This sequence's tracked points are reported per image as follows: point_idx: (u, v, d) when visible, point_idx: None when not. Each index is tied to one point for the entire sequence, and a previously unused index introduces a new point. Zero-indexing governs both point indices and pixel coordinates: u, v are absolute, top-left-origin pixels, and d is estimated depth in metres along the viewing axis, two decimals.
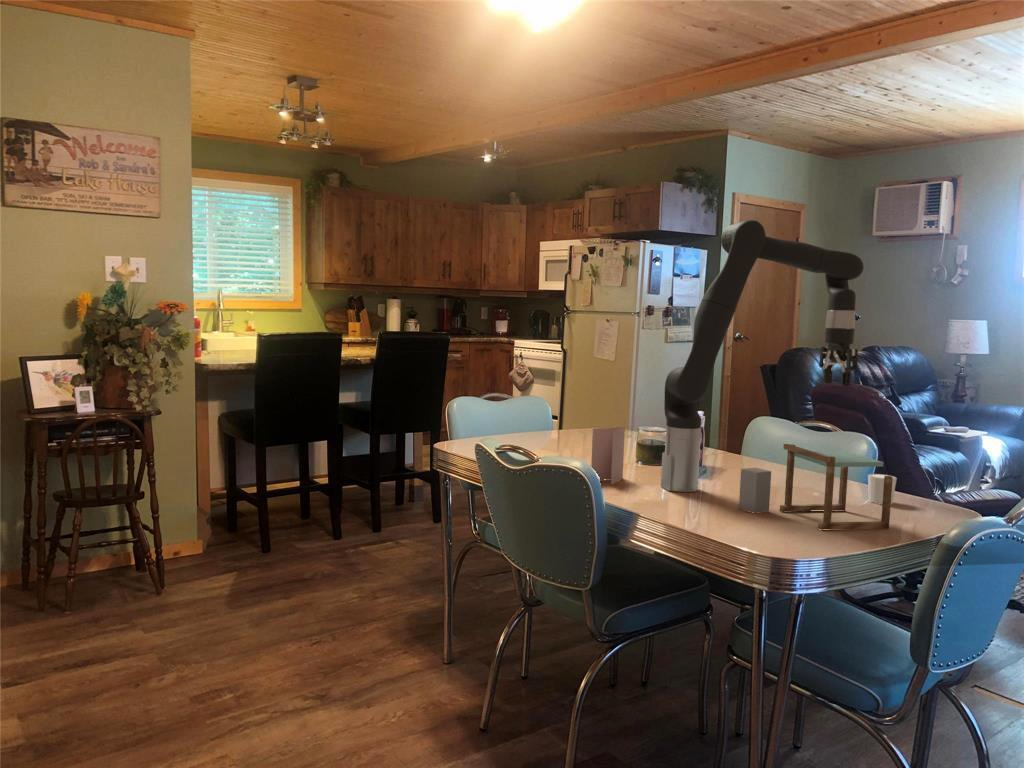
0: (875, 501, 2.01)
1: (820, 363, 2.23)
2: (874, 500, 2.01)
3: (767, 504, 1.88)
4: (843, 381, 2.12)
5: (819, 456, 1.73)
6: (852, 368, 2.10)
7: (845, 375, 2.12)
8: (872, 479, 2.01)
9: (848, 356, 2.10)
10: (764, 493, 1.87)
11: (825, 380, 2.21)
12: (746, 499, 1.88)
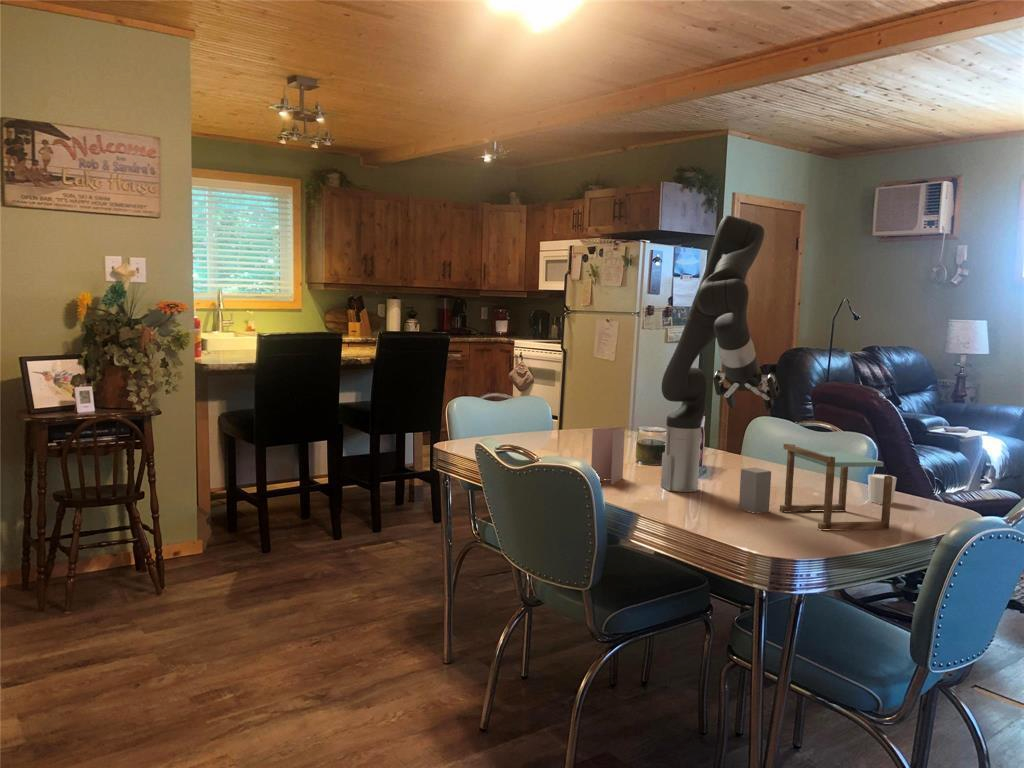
0: (875, 501, 2.01)
1: None
2: (874, 500, 2.01)
3: (767, 504, 1.88)
4: None
5: (819, 456, 1.73)
6: None
7: None
8: (872, 479, 2.01)
9: None
10: (764, 493, 1.87)
11: None
12: (746, 499, 1.88)
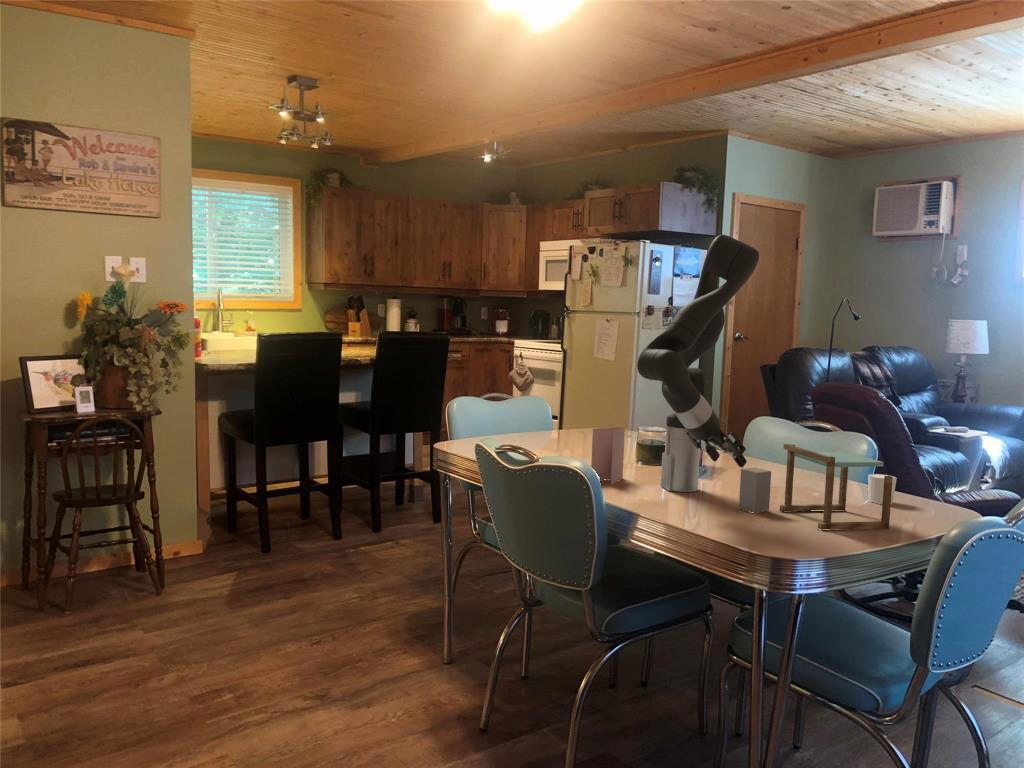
0: (875, 501, 2.01)
1: None
2: (874, 500, 2.01)
3: (767, 504, 1.88)
4: None
5: (819, 456, 1.73)
6: None
7: None
8: (872, 479, 2.01)
9: None
10: (764, 493, 1.87)
11: None
12: (746, 499, 1.88)
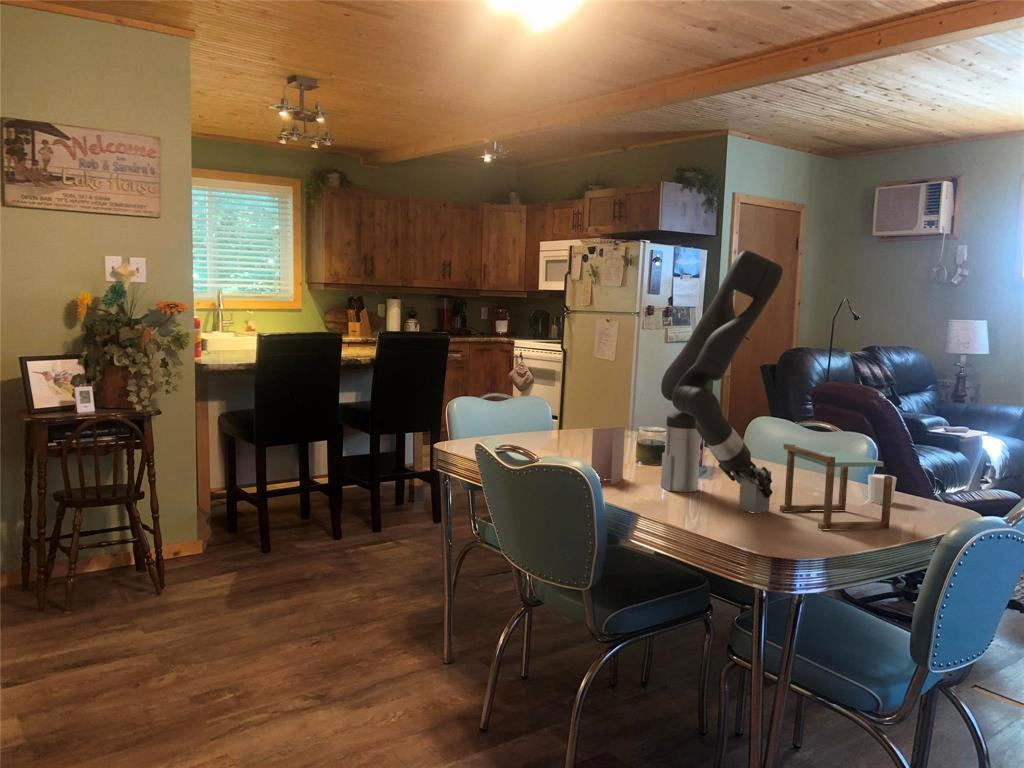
0: (875, 501, 2.01)
1: None
2: (874, 500, 2.01)
3: (767, 504, 1.88)
4: None
5: (819, 456, 1.73)
6: None
7: None
8: (872, 479, 2.01)
9: None
10: None
11: None
12: (746, 499, 1.88)
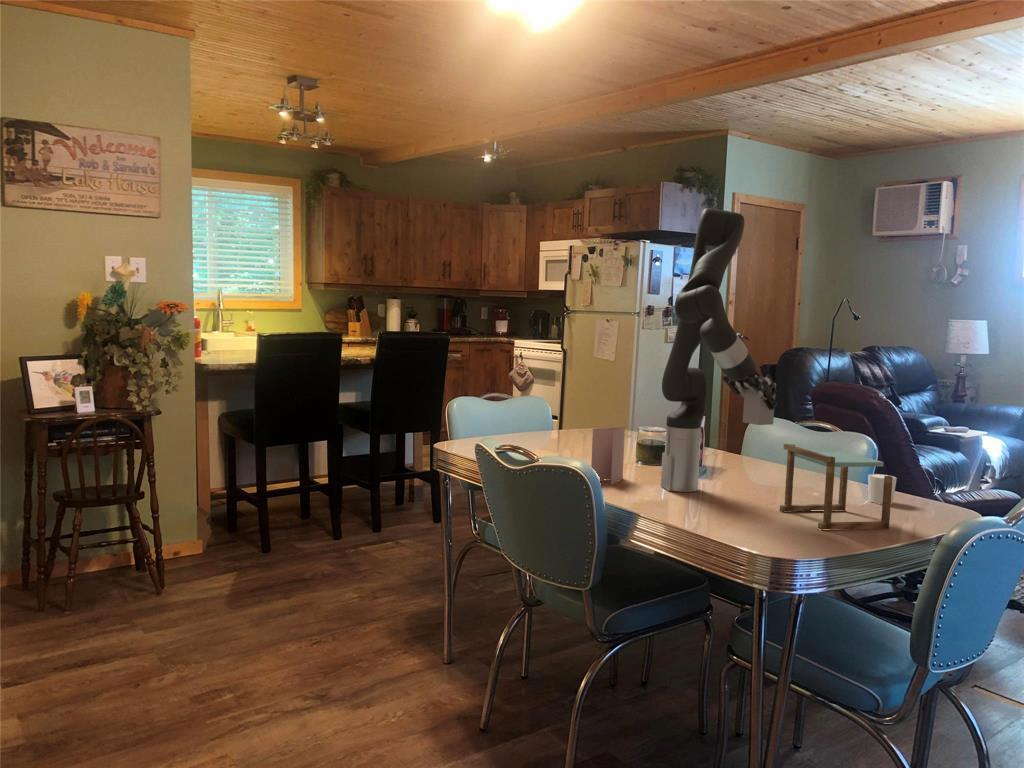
0: (875, 501, 2.01)
1: None
2: (874, 500, 2.01)
3: (771, 416, 1.86)
4: None
5: (819, 456, 1.73)
6: None
7: None
8: (872, 479, 2.01)
9: None
10: None
11: None
12: (750, 411, 1.86)
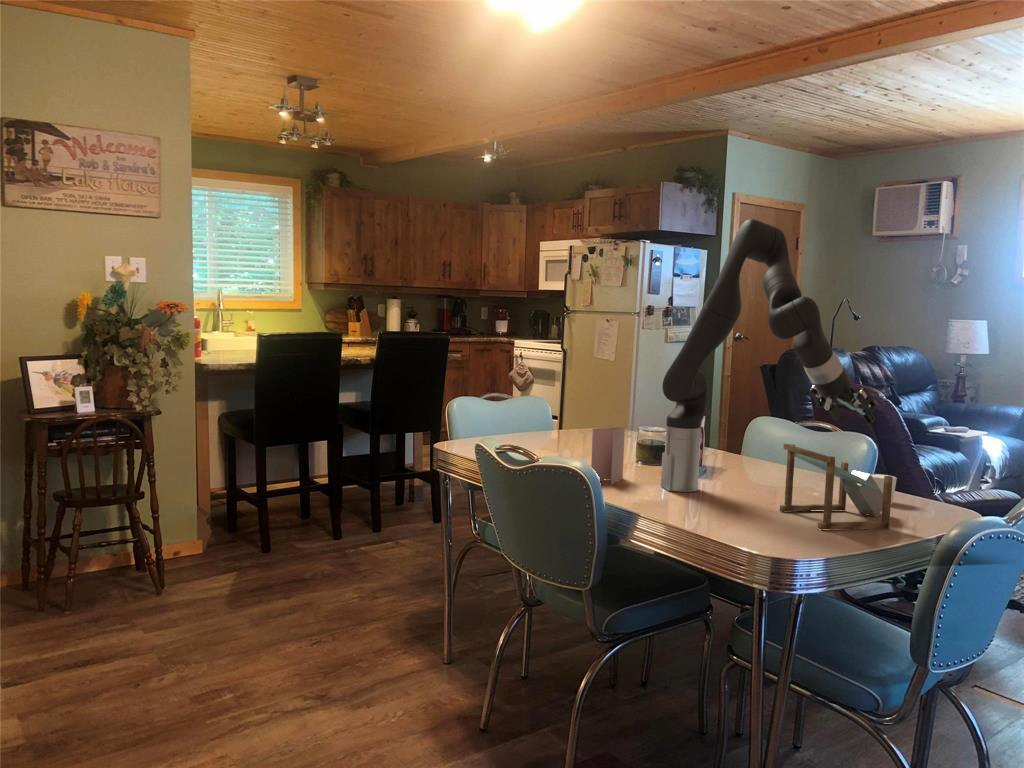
0: None
1: None
2: None
3: (863, 492, 1.83)
4: None
5: (819, 456, 1.73)
6: None
7: None
8: None
9: None
10: (871, 496, 1.85)
11: None
12: None
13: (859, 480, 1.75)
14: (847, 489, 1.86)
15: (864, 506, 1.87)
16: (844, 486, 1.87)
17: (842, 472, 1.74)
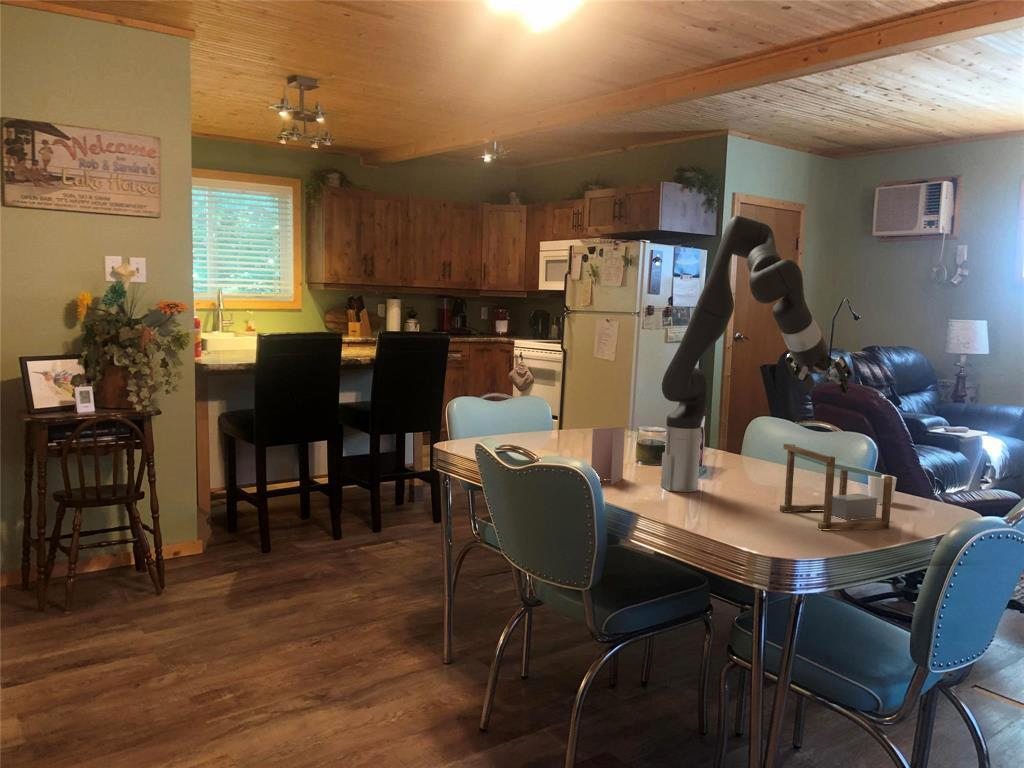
0: None
1: None
2: None
3: (851, 518, 1.82)
4: None
5: (819, 456, 1.73)
6: None
7: None
8: (872, 479, 2.01)
9: None
10: (860, 512, 1.83)
11: None
12: (846, 497, 1.85)
13: (862, 472, 1.75)
14: None
15: None
16: None
17: (843, 468, 1.74)
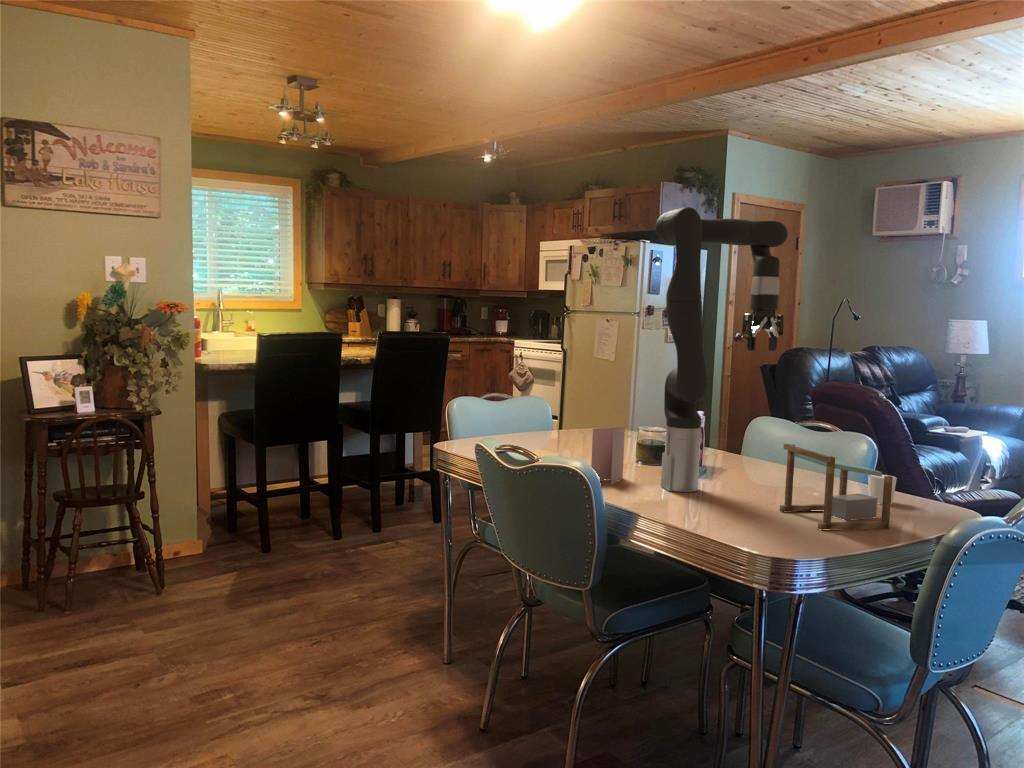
0: None
1: None
2: None
3: (851, 518, 1.82)
4: None
5: (819, 456, 1.73)
6: (745, 332, 2.17)
7: None
8: (872, 479, 2.01)
9: None
10: (860, 512, 1.83)
11: (769, 347, 2.23)
12: (846, 497, 1.85)
13: (862, 471, 1.75)
14: None
15: None
16: None
17: (844, 468, 1.74)
